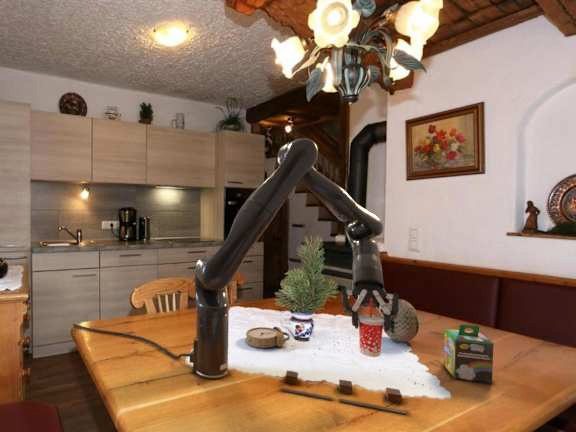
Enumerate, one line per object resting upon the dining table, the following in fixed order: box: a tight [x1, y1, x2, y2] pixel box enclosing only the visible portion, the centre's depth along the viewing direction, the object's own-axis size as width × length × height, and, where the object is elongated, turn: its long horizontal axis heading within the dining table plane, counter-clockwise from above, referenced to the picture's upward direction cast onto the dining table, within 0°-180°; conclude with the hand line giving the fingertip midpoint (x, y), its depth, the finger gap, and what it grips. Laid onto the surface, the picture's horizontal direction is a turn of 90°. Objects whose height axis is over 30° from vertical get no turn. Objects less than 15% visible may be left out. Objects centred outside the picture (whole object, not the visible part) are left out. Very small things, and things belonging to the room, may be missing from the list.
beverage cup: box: [358, 298, 385, 358], centre depth 89 cm, size 6×6×14 cm
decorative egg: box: [381, 298, 420, 343], centre depth 127 cm, size 12×12×15 cm
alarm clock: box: [245, 326, 291, 349], centre depth 123 cm, size 11×5×15 cm
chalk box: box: [443, 323, 495, 385], centre depth 102 cm, size 9×9×15 cm
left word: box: [281, 370, 333, 401], centre depth 93 cm, size 12×8×2 cm, turn 70°
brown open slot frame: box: [338, 379, 407, 416], centre depth 87 cm, size 14×8×2 cm, turn 70°
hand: (371, 328), depth 88 cm, fingers closed on beverage cup, 6 cm apart
